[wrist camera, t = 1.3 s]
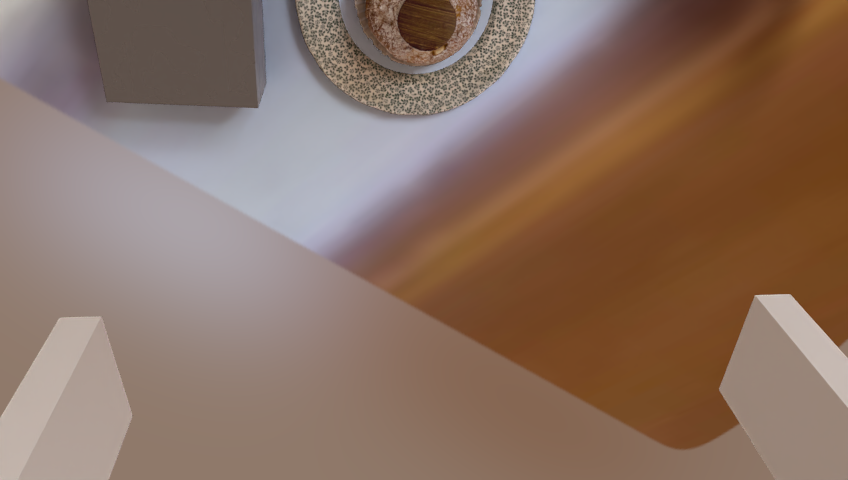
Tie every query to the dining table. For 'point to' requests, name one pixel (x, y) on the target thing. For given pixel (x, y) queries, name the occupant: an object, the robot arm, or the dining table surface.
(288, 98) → the dining table surface
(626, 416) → the dining table surface
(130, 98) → the rail
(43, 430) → the robot arm
